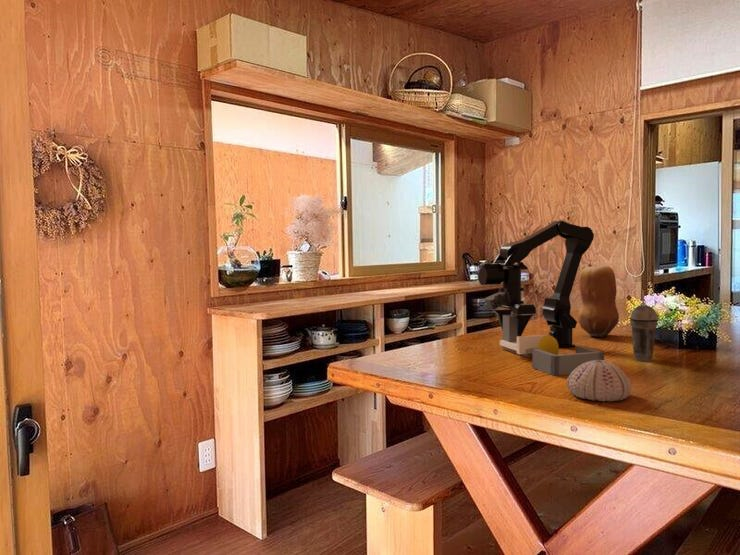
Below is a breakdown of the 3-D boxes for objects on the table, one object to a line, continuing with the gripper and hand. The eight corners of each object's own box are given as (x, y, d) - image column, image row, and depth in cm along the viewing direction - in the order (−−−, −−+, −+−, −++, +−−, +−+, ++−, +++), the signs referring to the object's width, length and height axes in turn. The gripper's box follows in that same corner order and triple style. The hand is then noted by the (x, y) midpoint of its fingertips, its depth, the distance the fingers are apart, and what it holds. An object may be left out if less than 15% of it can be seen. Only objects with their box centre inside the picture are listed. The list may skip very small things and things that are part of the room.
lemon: (556, 360, 164) (556, 332, 163) (560, 364, 158) (560, 336, 158) (536, 360, 164) (536, 332, 164) (540, 364, 159) (540, 336, 158)
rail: (512, 347, 184) (512, 344, 184) (540, 357, 169) (540, 353, 168) (501, 348, 183) (501, 345, 183) (528, 358, 167) (528, 354, 167)
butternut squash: (577, 332, 210) (578, 264, 208) (617, 334, 205) (618, 264, 204) (578, 339, 197) (578, 266, 195) (620, 340, 192) (621, 266, 191)
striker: (522, 343, 184) (522, 313, 183) (549, 352, 169) (549, 320, 169) (494, 345, 181) (494, 315, 180) (519, 354, 167) (519, 321, 166)
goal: (579, 363, 160) (580, 345, 159) (604, 371, 150) (604, 352, 150) (532, 367, 155) (532, 349, 155) (554, 375, 146) (554, 356, 145)
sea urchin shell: (633, 407, 118) (633, 369, 118) (564, 401, 124) (564, 364, 123) (631, 391, 131) (631, 356, 130) (568, 386, 136) (568, 353, 135)
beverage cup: (660, 359, 163) (662, 289, 162) (652, 363, 158) (654, 291, 157) (634, 356, 168) (635, 288, 167) (625, 360, 163) (626, 290, 162)
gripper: (474, 283, 186) (474, 330, 187) (503, 287, 168) (503, 340, 169) (505, 281, 189) (505, 328, 190) (537, 286, 171) (536, 337, 172)
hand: (511, 333), depth 180 cm, fingers open, 9 cm apart
